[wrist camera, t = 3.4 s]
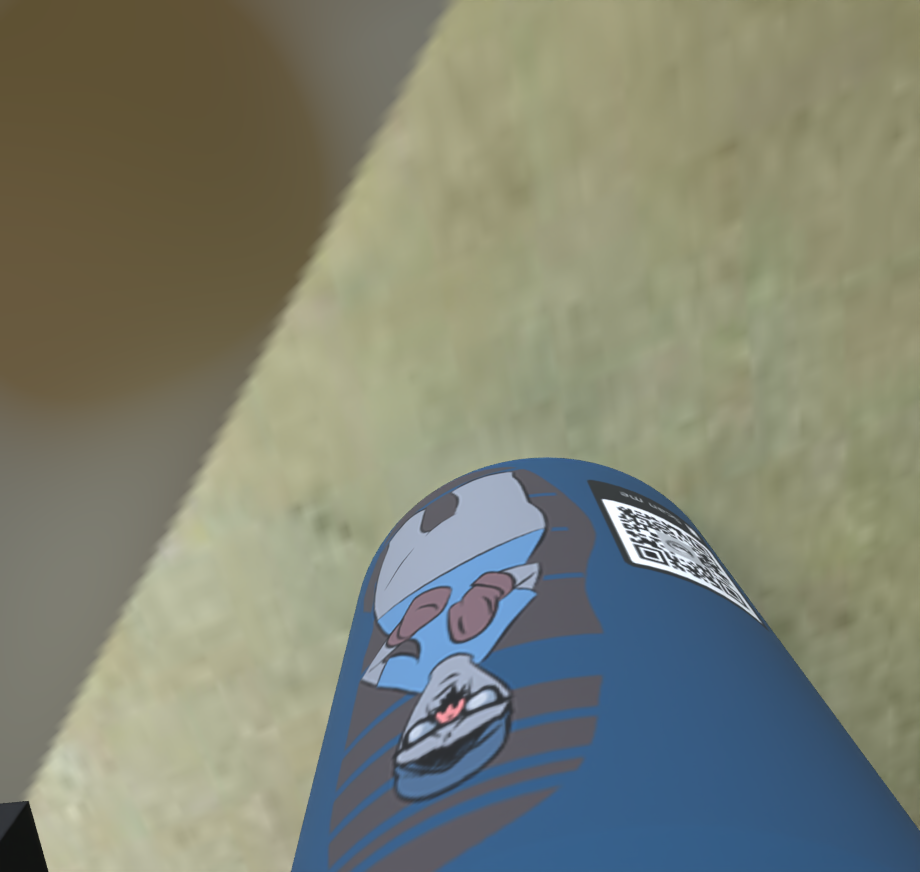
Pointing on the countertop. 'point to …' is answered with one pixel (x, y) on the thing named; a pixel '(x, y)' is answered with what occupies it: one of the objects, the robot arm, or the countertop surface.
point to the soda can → (579, 701)
